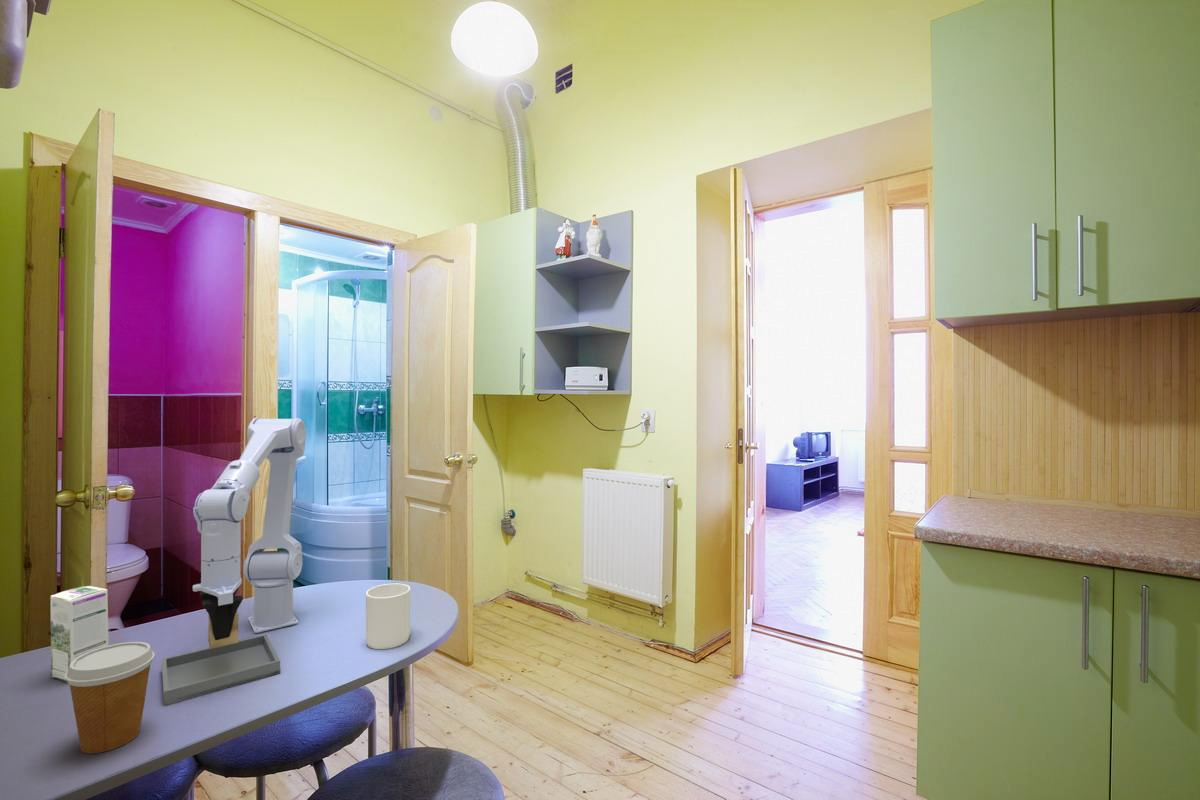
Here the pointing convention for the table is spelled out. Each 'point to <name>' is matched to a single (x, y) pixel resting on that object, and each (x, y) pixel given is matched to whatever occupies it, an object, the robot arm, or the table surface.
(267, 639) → the tray
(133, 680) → the disposable coffee cup
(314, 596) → the table surface
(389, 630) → the cup
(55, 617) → the syrup box
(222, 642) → the block
